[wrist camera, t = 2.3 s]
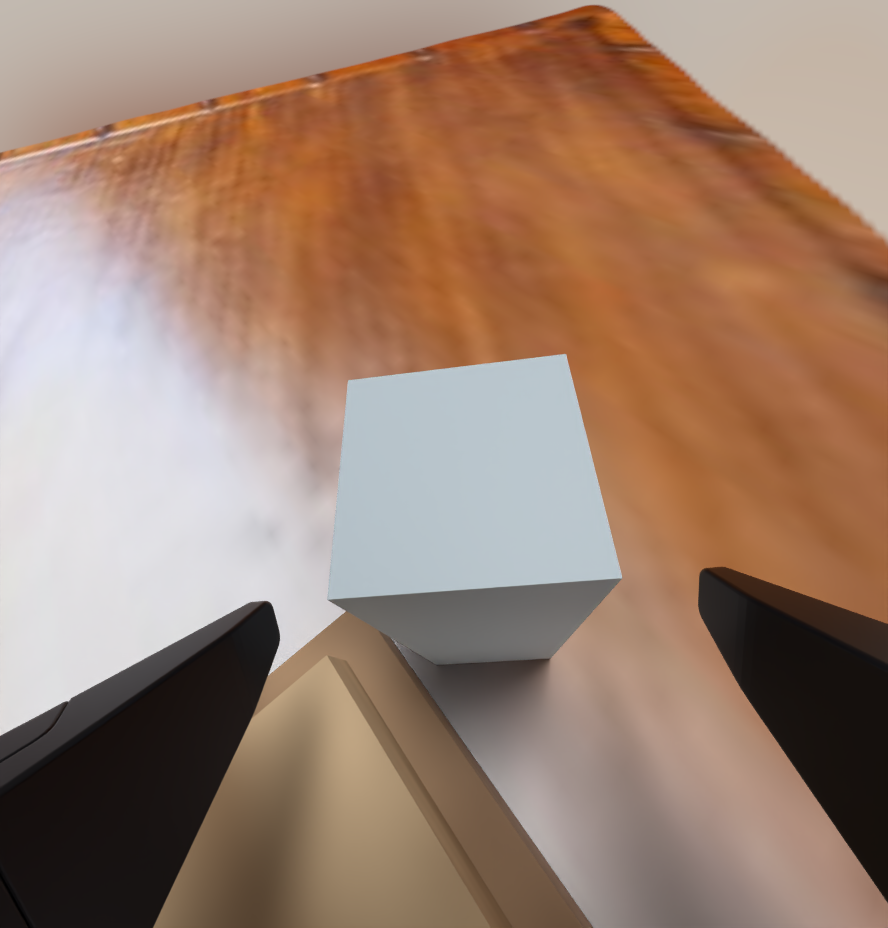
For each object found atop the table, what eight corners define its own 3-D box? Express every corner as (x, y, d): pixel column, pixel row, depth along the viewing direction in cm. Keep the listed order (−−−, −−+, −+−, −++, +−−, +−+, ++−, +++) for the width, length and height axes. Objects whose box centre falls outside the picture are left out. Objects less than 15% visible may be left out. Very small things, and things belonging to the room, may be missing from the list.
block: (550, 658, 17) (622, 578, 6) (436, 665, 17) (327, 599, 7) (533, 547, 19) (566, 353, 8) (433, 555, 19) (348, 380, 9)
